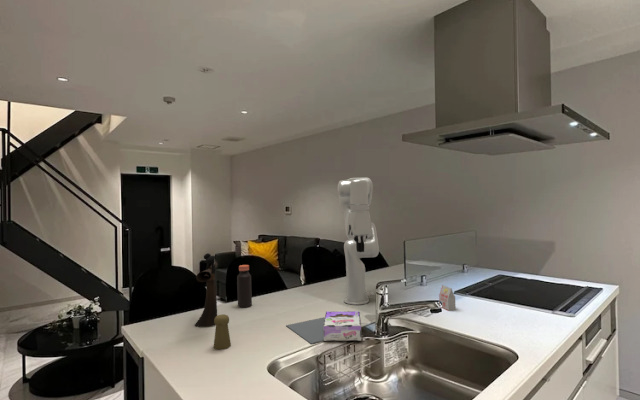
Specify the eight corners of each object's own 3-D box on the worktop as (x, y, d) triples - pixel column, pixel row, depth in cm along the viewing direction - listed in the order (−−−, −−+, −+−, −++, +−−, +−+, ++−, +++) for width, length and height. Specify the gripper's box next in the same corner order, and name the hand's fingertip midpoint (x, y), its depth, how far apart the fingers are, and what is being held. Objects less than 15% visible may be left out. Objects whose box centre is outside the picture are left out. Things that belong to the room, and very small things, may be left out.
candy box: (359, 310, 142) (361, 325, 126) (360, 325, 142) (362, 341, 126) (325, 310, 143) (323, 325, 127) (326, 325, 143) (323, 341, 127)
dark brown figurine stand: (214, 336, 135) (212, 258, 135) (187, 339, 133) (186, 259, 133) (221, 312, 166) (220, 248, 166) (200, 313, 164) (198, 249, 164)
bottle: (239, 308, 170) (238, 267, 170) (236, 305, 176) (235, 265, 176) (253, 306, 173) (252, 266, 174) (249, 303, 179) (248, 264, 180)
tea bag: (446, 306, 166) (445, 284, 166) (455, 310, 160) (454, 288, 160) (439, 306, 165) (439, 285, 165) (448, 311, 159) (447, 288, 159)
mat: (323, 318, 153) (323, 317, 153) (352, 333, 134) (352, 332, 134) (286, 326, 144) (286, 325, 144) (311, 344, 125) (311, 343, 125)
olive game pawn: (215, 343, 128) (214, 313, 129) (232, 342, 129) (231, 312, 129) (211, 350, 122) (211, 318, 123) (229, 349, 123) (228, 317, 123)
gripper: (368, 208, 157) (369, 249, 157) (339, 209, 150) (340, 252, 150) (378, 208, 151) (379, 251, 150) (349, 209, 143) (350, 254, 143)
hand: (360, 251), depth 150 cm, fingers closed
